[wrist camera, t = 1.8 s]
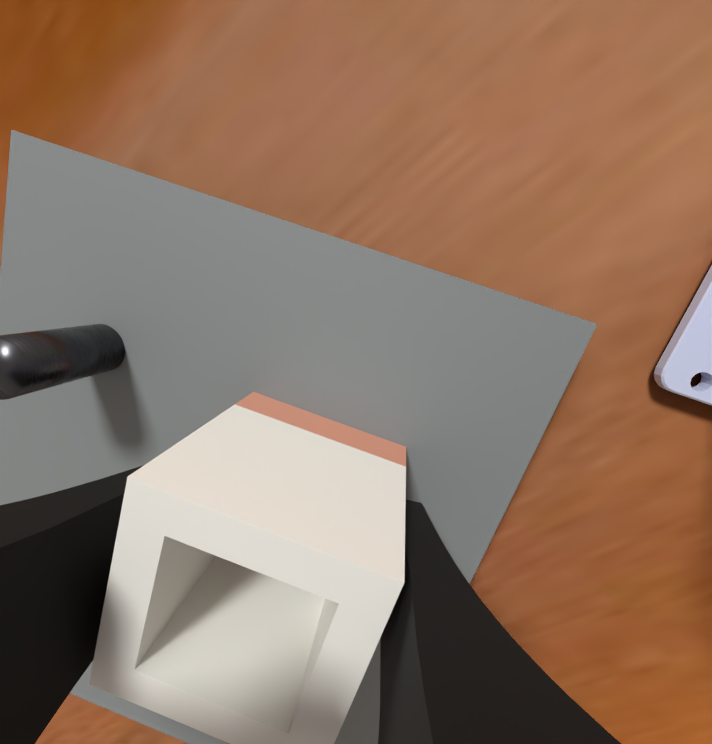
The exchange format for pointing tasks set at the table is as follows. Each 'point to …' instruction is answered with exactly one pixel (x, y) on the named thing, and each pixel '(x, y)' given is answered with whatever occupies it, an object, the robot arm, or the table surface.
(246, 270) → the pin board
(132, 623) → the sleeve
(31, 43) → the table surface
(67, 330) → the black pin
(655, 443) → the table surface
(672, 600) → the table surface
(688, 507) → the table surface
